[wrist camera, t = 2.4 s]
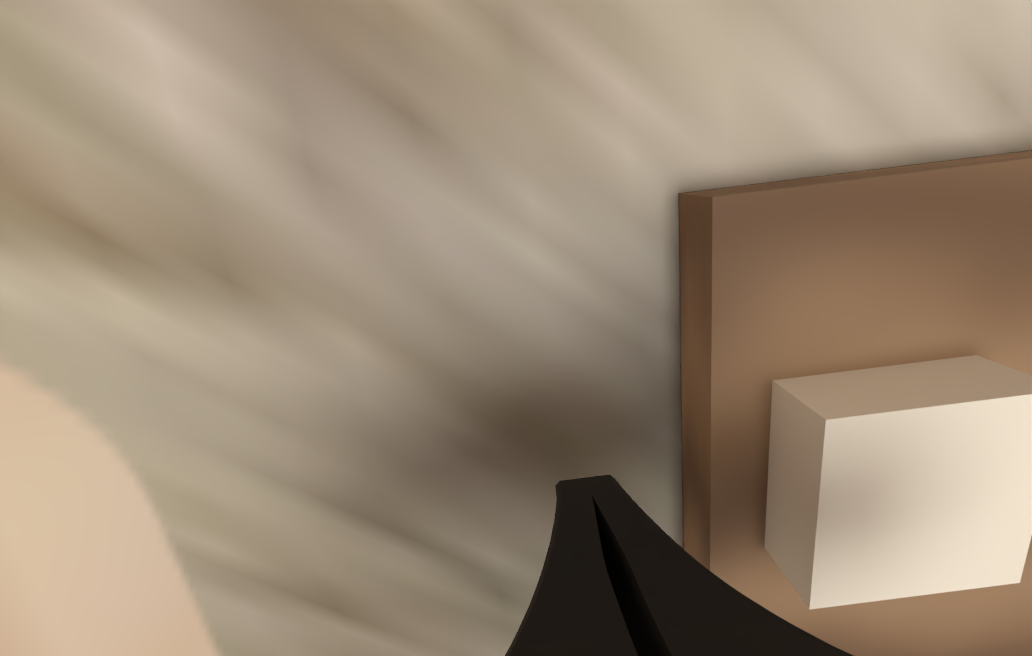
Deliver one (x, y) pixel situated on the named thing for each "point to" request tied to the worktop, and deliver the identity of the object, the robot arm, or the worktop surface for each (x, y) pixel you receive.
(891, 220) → the board
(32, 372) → the worktop surface
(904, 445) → the block
